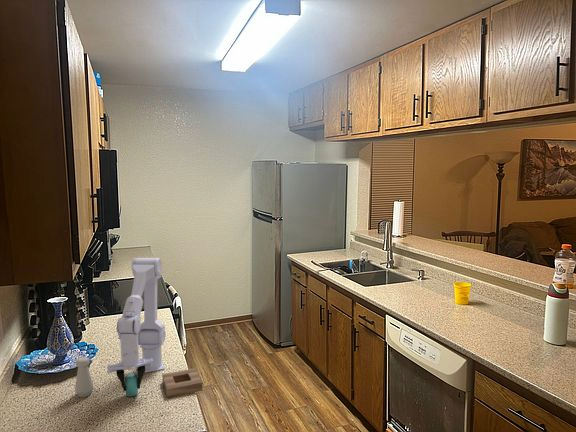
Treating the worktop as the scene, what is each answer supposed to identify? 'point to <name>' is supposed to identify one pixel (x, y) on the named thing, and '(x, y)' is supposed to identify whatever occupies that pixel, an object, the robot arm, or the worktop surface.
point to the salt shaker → (83, 378)
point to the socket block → (182, 382)
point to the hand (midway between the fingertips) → (131, 388)
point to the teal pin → (131, 384)
